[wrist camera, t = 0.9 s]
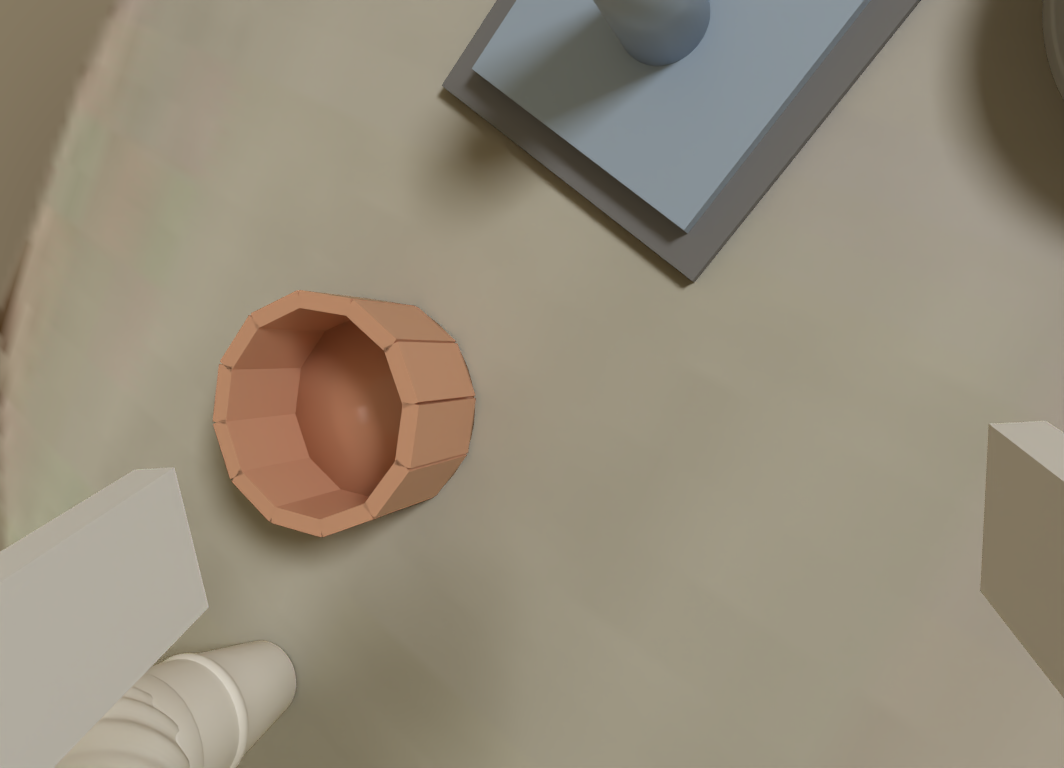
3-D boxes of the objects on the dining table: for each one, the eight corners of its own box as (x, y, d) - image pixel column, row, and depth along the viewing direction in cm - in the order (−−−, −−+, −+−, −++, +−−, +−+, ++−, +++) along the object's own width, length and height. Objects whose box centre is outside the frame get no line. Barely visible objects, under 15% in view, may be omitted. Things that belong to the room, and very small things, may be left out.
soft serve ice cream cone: (207, 598, 46) (-93, 716, 31) (326, 610, 43) (57, 748, 28) (212, 737, 46) (-83, 922, 31) (331, 760, 43) (67, 976, 28)
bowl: (515, 393, 38) (462, 399, 33) (394, 551, 41) (326, 582, 35) (366, 259, 41) (293, 244, 35) (262, 416, 44) (179, 425, 38)
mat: (951, -38, 31) (953, -46, 30) (694, 282, 35) (692, 281, 34) (646, -217, 35) (643, -226, 34) (447, 89, 39) (441, 85, 38)
